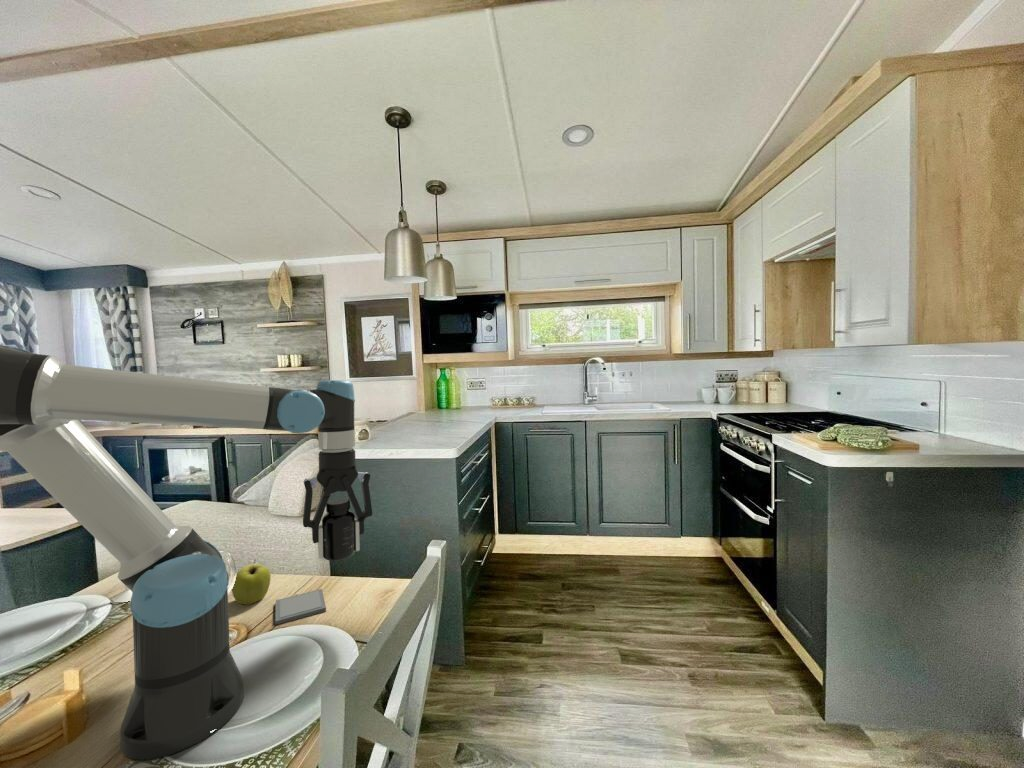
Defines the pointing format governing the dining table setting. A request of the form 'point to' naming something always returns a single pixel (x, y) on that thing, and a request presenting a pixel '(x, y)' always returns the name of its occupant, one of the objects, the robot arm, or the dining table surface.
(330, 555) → the supplement bottle
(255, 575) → the apple
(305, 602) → the slate coaster
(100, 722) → the dining table surface
